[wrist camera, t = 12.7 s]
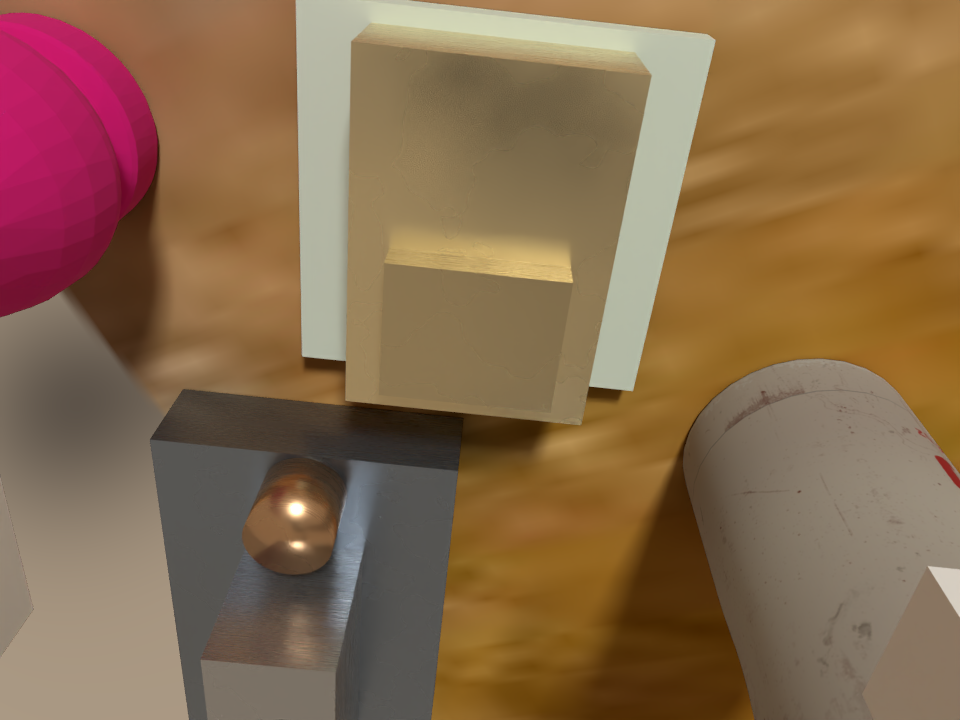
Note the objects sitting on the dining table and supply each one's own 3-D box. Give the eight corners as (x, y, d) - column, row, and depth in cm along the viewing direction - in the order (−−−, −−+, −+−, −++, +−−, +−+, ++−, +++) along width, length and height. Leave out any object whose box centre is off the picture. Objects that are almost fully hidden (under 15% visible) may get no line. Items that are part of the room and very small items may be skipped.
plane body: (429, 728, 38) (410, 916, 31) (217, 708, 38) (151, 892, 31) (462, 418, 29) (446, 587, 22) (183, 389, 28) (77, 550, 21)
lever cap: (574, 372, 26) (583, 445, 23) (361, 349, 26) (338, 420, 23) (634, 52, 21) (658, 84, 18) (370, 22, 21) (342, 48, 18)
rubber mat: (629, 375, 27) (632, 391, 26) (308, 341, 27) (301, 356, 26) (707, 34, 22) (715, 40, 21) (304, -12, 22) (295, -8, 21)
